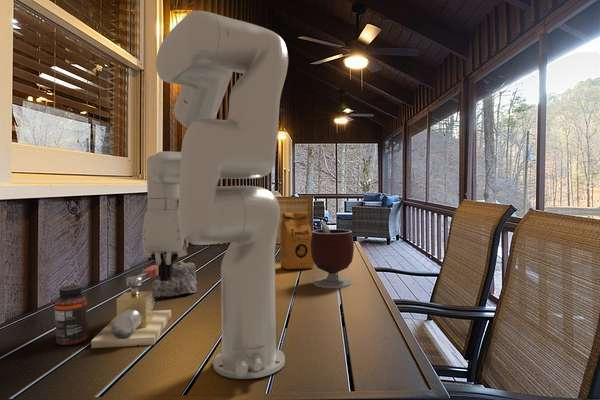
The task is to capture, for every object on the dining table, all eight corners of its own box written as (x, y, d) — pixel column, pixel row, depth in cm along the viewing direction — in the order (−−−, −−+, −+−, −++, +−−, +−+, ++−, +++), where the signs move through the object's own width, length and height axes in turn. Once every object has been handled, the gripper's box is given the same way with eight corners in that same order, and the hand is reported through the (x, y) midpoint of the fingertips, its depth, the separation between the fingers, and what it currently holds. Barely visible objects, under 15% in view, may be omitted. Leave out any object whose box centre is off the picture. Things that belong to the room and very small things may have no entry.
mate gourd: (362, 286, 131) (361, 222, 131) (322, 290, 126) (321, 224, 126) (339, 276, 146) (339, 219, 145) (302, 280, 141) (302, 221, 140)
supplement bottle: (81, 333, 91) (79, 282, 91) (93, 339, 87) (92, 286, 87) (51, 341, 86) (49, 287, 86) (63, 348, 83) (61, 292, 82)
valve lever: (138, 286, 91) (138, 278, 91) (124, 287, 91) (124, 278, 91) (164, 272, 107) (164, 265, 107) (151, 272, 107) (151, 265, 107)
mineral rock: (151, 301, 117) (150, 265, 117) (154, 292, 127) (153, 259, 127) (198, 297, 120) (197, 263, 120) (198, 289, 131) (197, 257, 130)
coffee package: (316, 269, 159) (316, 212, 158) (285, 272, 155) (284, 213, 154) (308, 265, 168) (307, 210, 168) (278, 267, 164) (277, 211, 164)
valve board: (154, 344, 84) (154, 337, 84) (91, 348, 83) (91, 340, 83) (171, 316, 103) (171, 309, 103) (120, 318, 101) (120, 312, 101)
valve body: (138, 338, 84) (137, 296, 83) (107, 339, 83) (106, 297, 83) (158, 310, 102) (157, 276, 102) (133, 311, 102) (132, 277, 101)
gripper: (198, 204, 105) (200, 276, 106) (141, 205, 106) (143, 277, 107) (188, 205, 98) (190, 283, 98) (127, 206, 99) (129, 283, 99)
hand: (165, 280), depth 102 cm, fingers closed
